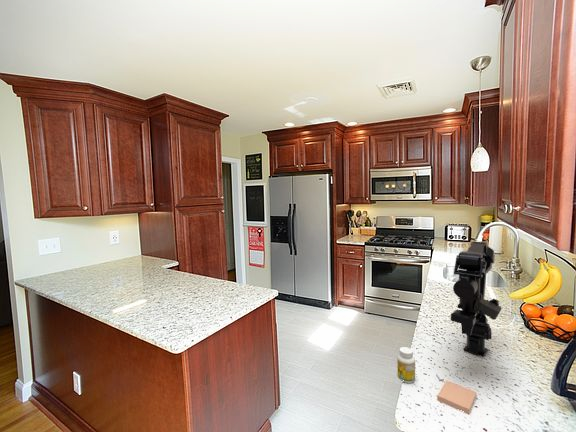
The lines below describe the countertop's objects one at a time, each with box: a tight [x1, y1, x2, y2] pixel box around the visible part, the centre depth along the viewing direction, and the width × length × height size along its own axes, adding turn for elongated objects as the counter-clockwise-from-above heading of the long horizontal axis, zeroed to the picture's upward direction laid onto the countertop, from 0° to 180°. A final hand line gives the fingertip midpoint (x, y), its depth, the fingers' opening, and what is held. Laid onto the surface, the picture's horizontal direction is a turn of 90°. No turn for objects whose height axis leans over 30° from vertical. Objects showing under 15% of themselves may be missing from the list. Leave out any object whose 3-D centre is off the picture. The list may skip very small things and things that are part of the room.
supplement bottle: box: [396, 346, 416, 384], centre depth 92 cm, size 5×5×10 cm
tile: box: [436, 380, 478, 415], centre depth 82 cm, size 2×8×9 cm
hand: (468, 335), depth 95 cm, fingers closed
